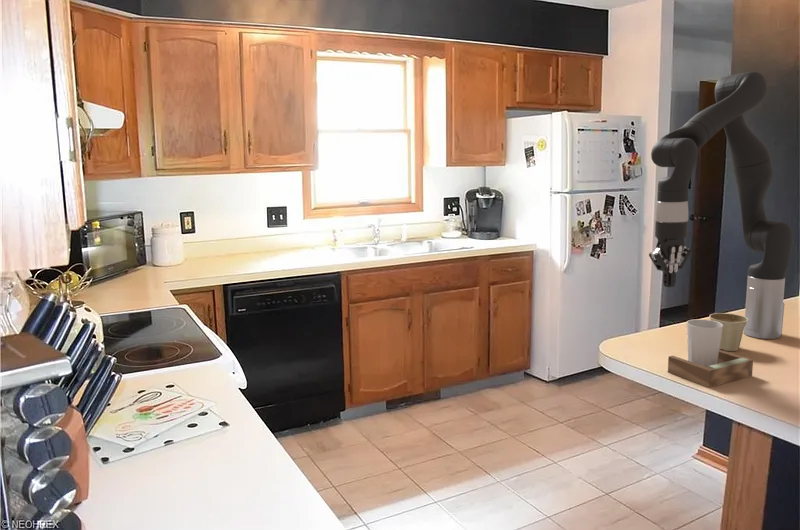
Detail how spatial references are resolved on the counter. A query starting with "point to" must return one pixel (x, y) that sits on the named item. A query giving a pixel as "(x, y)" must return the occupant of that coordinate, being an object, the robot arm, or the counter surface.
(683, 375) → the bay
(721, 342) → the flower pot
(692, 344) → the cup
